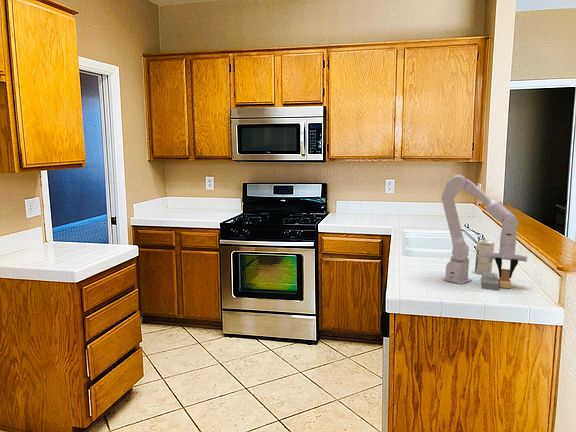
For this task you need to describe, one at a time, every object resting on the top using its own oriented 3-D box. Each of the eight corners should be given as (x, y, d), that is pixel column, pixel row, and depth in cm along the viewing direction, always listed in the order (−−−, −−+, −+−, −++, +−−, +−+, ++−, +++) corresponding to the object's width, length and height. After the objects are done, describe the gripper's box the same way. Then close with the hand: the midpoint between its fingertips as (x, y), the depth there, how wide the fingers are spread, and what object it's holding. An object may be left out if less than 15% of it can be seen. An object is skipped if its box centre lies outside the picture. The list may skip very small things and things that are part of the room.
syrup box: (478, 270, 214) (480, 239, 212) (492, 273, 210) (494, 241, 208) (474, 273, 209) (476, 241, 207) (488, 275, 206) (490, 242, 204)
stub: (499, 287, 186) (500, 272, 185) (498, 281, 195) (499, 267, 194) (510, 288, 184) (511, 273, 184) (509, 282, 194) (510, 268, 193)
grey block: (481, 288, 185) (482, 282, 184) (481, 277, 201) (481, 271, 201) (498, 290, 182) (499, 283, 182) (496, 279, 199) (497, 273, 199)
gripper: (488, 244, 187) (485, 277, 188) (528, 247, 181) (525, 281, 183) (487, 241, 193) (485, 273, 195) (527, 244, 188) (524, 277, 190)
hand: (504, 277), depth 189 cm, fingers closed on stub, 3 cm apart
